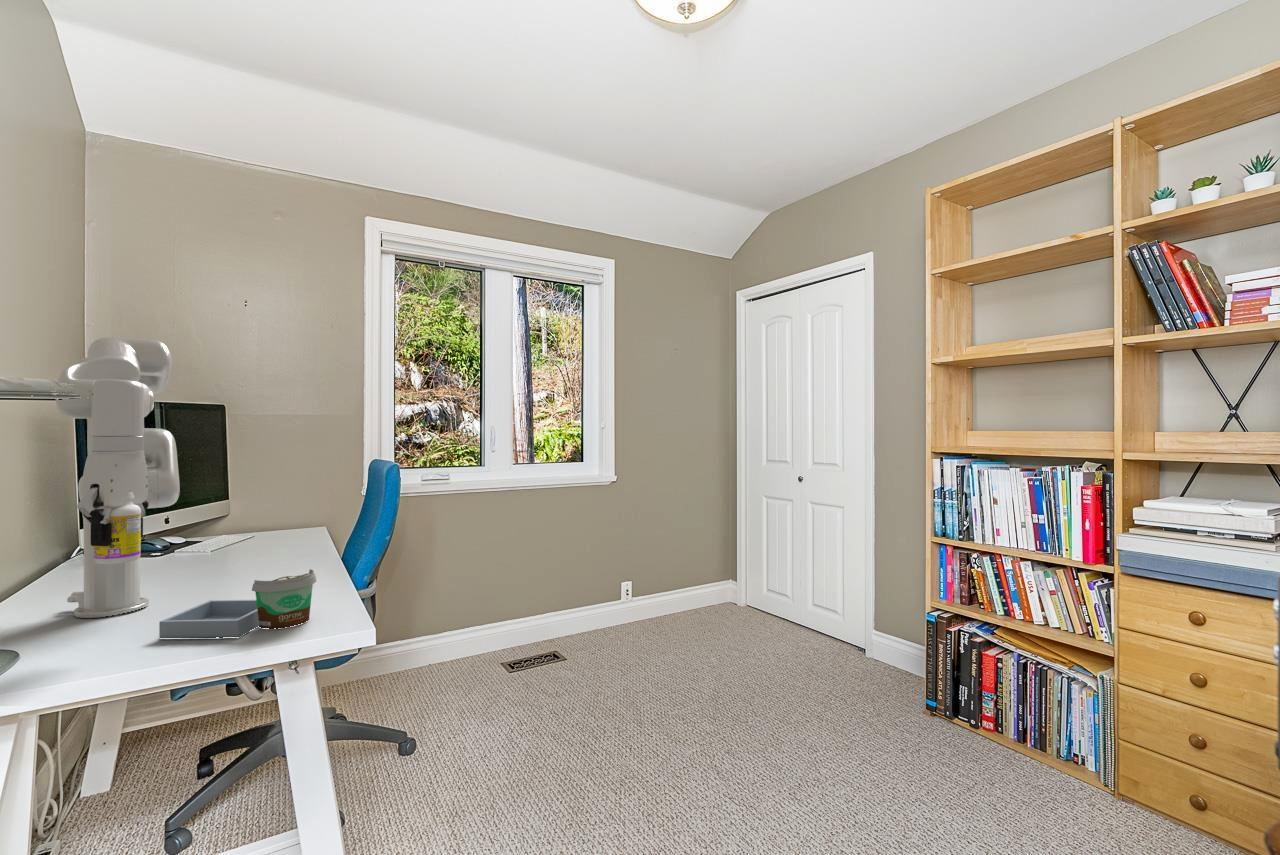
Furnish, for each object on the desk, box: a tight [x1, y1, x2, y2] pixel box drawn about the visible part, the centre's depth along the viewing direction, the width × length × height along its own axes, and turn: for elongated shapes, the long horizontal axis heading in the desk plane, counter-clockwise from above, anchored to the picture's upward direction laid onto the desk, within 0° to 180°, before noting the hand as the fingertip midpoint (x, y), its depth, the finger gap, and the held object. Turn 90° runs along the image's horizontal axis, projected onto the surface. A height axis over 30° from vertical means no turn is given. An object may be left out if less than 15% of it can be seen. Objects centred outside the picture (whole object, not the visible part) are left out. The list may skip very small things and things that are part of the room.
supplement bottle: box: [94, 492, 142, 564], centre depth 114 cm, size 7×7×13 cm
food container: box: [251, 568, 317, 630], centre depth 126 cm, size 12×6×10 cm, turn 148°
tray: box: [158, 599, 259, 638], centre depth 124 cm, size 15×15×4 cm
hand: (117, 540), depth 114 cm, fingers closed on supplement bottle, 6 cm apart
